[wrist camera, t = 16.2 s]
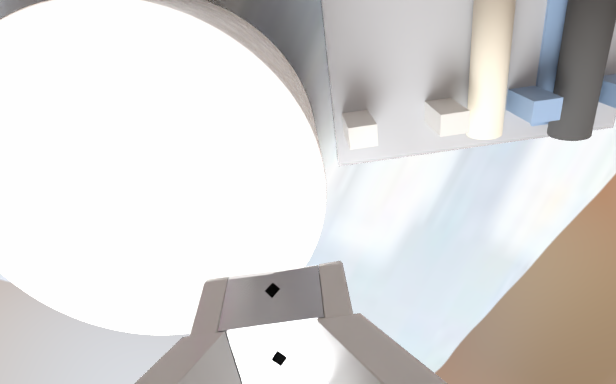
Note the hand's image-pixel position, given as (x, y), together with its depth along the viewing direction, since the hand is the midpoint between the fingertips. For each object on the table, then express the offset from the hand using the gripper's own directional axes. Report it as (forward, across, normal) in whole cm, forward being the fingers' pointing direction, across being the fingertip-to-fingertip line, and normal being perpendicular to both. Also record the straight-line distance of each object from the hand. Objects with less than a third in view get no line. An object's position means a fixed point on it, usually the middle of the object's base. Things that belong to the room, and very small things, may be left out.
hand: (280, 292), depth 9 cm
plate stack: (+32, +12, +7) cm, 34 cm away
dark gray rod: (+30, -26, +2) cm, 40 cm away
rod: (+30, -18, +2) cm, 35 cm away
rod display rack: (+31, -18, +2) cm, 36 cm away
